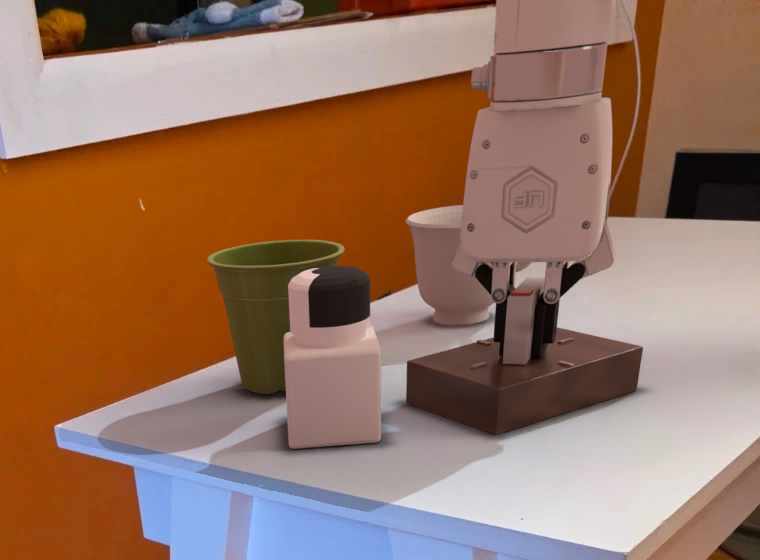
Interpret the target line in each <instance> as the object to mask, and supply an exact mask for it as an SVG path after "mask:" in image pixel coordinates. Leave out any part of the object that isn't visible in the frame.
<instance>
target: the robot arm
mask: <svg viewBox="0 0 760 560" xmlns="http://www.w3.org/2000/svg"><path fill="white" fill-rule="evenodd" d="M495 1H496V2H495V19H494V35H493V52H492V53H493V55H491V56H490V57H489V58H490V59H489V61H488V62H487V63H485V64H483V66H478V67H473V68H472V71H471V76H470V83H471V84H470V87H471V90H473V91H474V90H481V91H482V92H485V91H486V94H487V101H490V103H489V104H490V105H489V107H485V108H481V109H479V110H478V111H477V115H476V118H475V123H474V127H473V131H472V132H473V133H472V138H471V143H470V148H469V155H468V161H467V168H466V176H465V178H466V179H465V185H464V192H463V193H464V194H463V203H462V205H463V211H462V221H461V236H460V242H459V244H458V246H457V249H456V251H455V254H454V256H453V258H452V261H451V265H452V267H453V268H454V269H456V270H458V271H460V272H463V273H465V274H467V275H469V276H473V277H475V278H476V279H477V280H478V281H479V282H480V283H481V285H482V286H483V287H484V288H485V289H486V290H487V291H488V293H489V294H490V295H491V298H492V301H493V302H495V303H494V304H495V312H494V327H493V338H494V342H500V347H499V356H503V352H504V339H505V325H506V312H507V299H508V296H509V295H510V293H511V292H512V291H513V290H515V289H516V287H515V285H516V273H517V272H516V263H517V262H532V263H546V265H545V273H544V278H545V283H544V292H543V293H542V294H541V296H540V301H539V303H538V304H537V305H536V307H535V317H534V327H533V338H532V349H531V355H533V357H541V355H542V354H543V353H544V351H545V350H546V349H547V345H548V344H553V343H554V341H555V337H556V330H557V327H558V321H559V310H560V301H561V298H562V297H563V296H564V295H565V294H566V293H567V292H568V291H569V290H571V289H572V288H573V287H574V286H575V285H576V284H577V283H578V282H579V281H580V280H582V279H585V278H587V277H590V276H592V275H595V274H597V273H600V272H602V271H604V270H607V269H609V268H611V267H612V266H613V264H614V263H615V262H616V259H617V255H616V250H615V247H614V243H613V239H612V236H611V233H610V229H609V225H608V218H609V209H610V208H609V207H610V198H611V197H610V196H611V183H612V182H611V181H612V167H613V165H612V164H613V163H612V162H613V161H612V160H613V114H612V113H613V111H612V99H611V98H610V97H602V94H603V85H604V77H605V69H606V60H607V51H608V41H609V35H610V28H611V27H610V25H611V18H612V17H611V16H612V8H613V0H495ZM570 262H573V263H572V264H571V265H569V264H570Z"/></svg>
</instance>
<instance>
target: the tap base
mask: <svg viewBox="0 0 760 560" xmlns="http://www.w3.org/2000/svg"><path fill="white" fill-rule="evenodd" d="M499 347H500V342H494V337H490V338H487V339H483V340H482V339H477V340H476V341H475V342H472V343H468V344H464V345H461V346H457V347H454V348H450V349H446V350H442V351H438V352H435V353H431V354H428V355H424V356H420V357H417V358H412V359H408V360H407V361H406V387H405V390H406V391H405V403H406V404H408V405H411V406H414V407H416V408H420V409H422V410H425V411H428V412H430V413H433V414H436V415H440V416H441V417H443V418H444V417H445V418H446V419H447V418H448V419H449V420H453V421H456V422H459V423H462V424H464V425H466V426H470V427H473V428H475V429H477V430H481V431H483V432H487V433H489V434H492V435H495V436H497V435H500V434H504V433H506V432H510V431H513V430H516V429H519V428H523V427H525V426H528V425H532V424H535V423H538V422H542V421H544V420H545V421H546V420H547V419H548V420H549V419H551V418H553V417H557V416H560V415H564V414H566V413H570V412H573V411H576V410H580V409H582V408H587V407H588V406H592V405H594V404H598V403H601V402H604V401H608V400H611V399H614V398H616V397H620V396H623V395H627V394H630V393H633V392H636V391H637V389H638V385H639V384H638V383H639V377H640V371H641V365H642V359H643V358H642V357H643V353H644V352H643V351H644V346H642V345H637V344H634V343H629V342H625V341H620V340H615V339H611V338H607V337H602V336H598V335H593V334H588V333H584V332H579V331H576V330H571V329H566V328H562V327H558V326H557V330H556V337H555V341H554V343H553V344H548V345H547V349H546V350H545V351H544V353H543V354H542V355H541V357H533V355H532V357H531V358H530V359H529V361H528V362H527V363H526V365H517V364H503V356H499Z"/></svg>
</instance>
